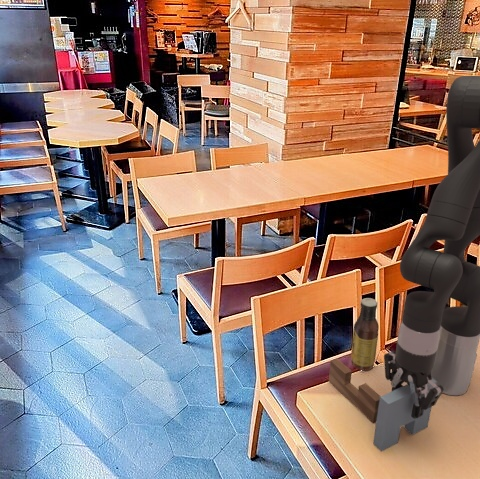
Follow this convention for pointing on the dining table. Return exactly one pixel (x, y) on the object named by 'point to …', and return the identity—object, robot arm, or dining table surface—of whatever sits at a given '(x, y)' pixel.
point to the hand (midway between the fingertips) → (405, 407)
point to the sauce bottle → (365, 336)
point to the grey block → (397, 417)
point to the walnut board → (354, 390)
